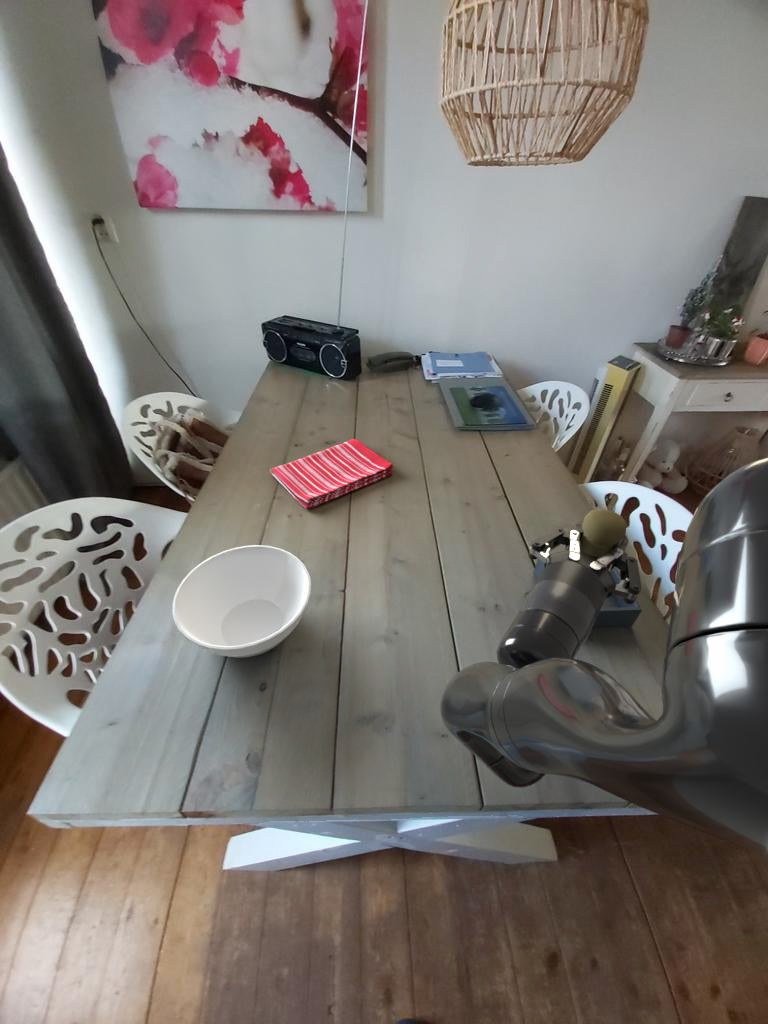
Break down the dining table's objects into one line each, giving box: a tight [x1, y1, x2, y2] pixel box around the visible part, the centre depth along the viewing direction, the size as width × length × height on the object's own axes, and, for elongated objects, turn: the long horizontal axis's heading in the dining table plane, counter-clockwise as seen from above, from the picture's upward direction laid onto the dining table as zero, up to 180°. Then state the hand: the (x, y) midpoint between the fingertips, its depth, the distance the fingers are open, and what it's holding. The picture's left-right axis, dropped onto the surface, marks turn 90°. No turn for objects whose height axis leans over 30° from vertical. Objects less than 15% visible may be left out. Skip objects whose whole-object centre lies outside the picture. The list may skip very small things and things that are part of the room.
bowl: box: [171, 544, 312, 659], centre depth 66 cm, size 20×19×8 cm
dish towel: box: [269, 438, 394, 511], centre depth 101 cm, size 17×24×3 cm
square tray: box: [532, 558, 643, 629], centre depth 73 cm, size 12×12×4 cm
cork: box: [580, 508, 628, 558], centre depth 60 cm, size 6×6×11 cm
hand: (602, 531), depth 61 cm, fingers closed on cork, 4 cm apart
